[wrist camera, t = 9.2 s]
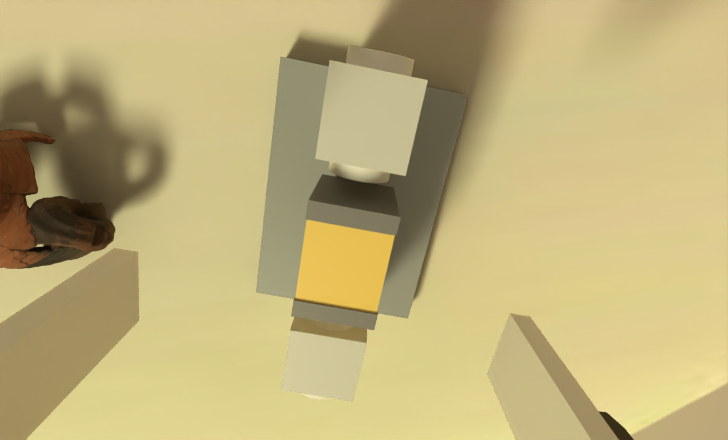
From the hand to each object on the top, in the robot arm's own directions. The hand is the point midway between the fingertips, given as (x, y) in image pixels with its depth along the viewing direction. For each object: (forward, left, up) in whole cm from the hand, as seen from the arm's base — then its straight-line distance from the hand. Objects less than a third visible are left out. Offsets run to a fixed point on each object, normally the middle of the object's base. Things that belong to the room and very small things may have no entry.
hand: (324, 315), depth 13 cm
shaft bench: (0, 0, -15) cm, 15 cm away
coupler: (0, 0, -9) cm, 9 cm away
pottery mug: (-21, -4, -16) cm, 26 cm away
